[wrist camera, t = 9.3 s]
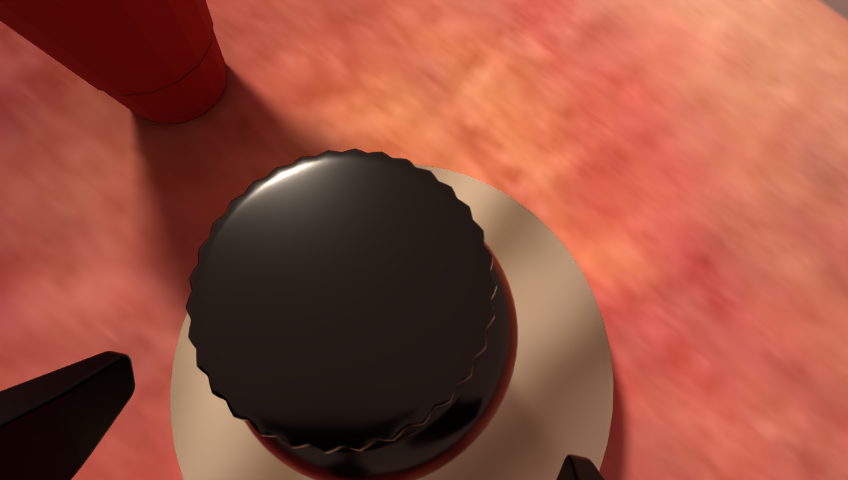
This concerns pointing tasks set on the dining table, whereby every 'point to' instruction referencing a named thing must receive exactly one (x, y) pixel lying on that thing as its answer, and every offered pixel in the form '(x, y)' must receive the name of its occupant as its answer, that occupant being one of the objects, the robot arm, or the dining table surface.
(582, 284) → the disc
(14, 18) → the plastic cup
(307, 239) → the supplement bottle
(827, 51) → the dining table surface
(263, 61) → the dining table surface
